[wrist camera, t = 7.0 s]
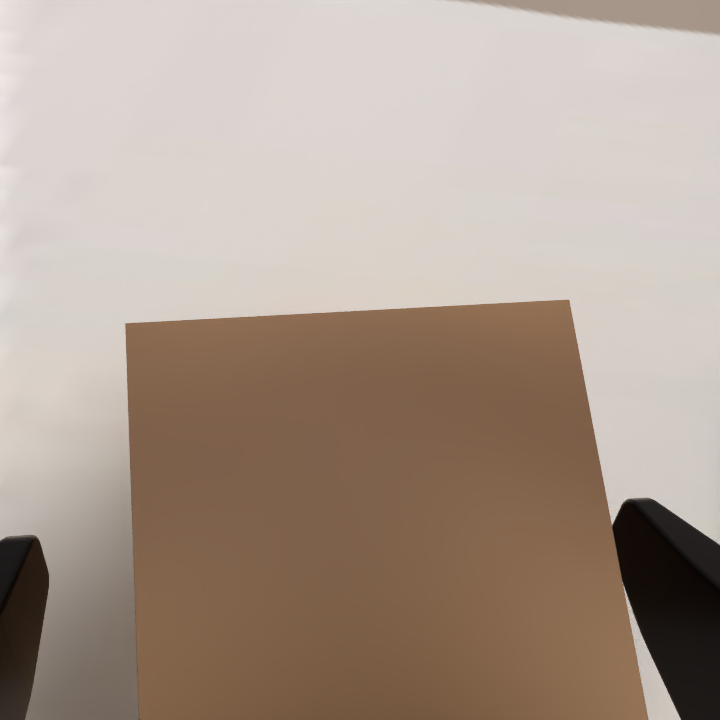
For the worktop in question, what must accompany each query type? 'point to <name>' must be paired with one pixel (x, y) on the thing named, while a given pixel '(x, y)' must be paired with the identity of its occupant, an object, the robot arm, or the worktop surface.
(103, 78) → the worktop surface
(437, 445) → the walnut block
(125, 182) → the worktop surface
